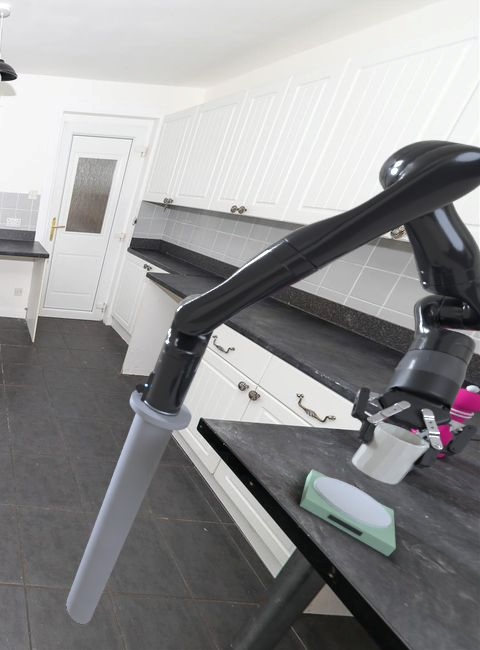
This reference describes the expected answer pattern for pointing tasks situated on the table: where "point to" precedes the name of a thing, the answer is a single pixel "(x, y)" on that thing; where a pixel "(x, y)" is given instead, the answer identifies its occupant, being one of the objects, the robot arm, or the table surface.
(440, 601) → the table surface
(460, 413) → the pepper mill
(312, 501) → the scale
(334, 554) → the table surface
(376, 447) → the cup
